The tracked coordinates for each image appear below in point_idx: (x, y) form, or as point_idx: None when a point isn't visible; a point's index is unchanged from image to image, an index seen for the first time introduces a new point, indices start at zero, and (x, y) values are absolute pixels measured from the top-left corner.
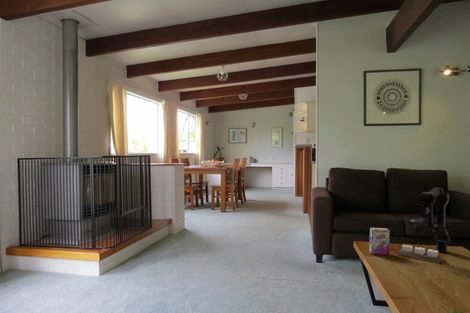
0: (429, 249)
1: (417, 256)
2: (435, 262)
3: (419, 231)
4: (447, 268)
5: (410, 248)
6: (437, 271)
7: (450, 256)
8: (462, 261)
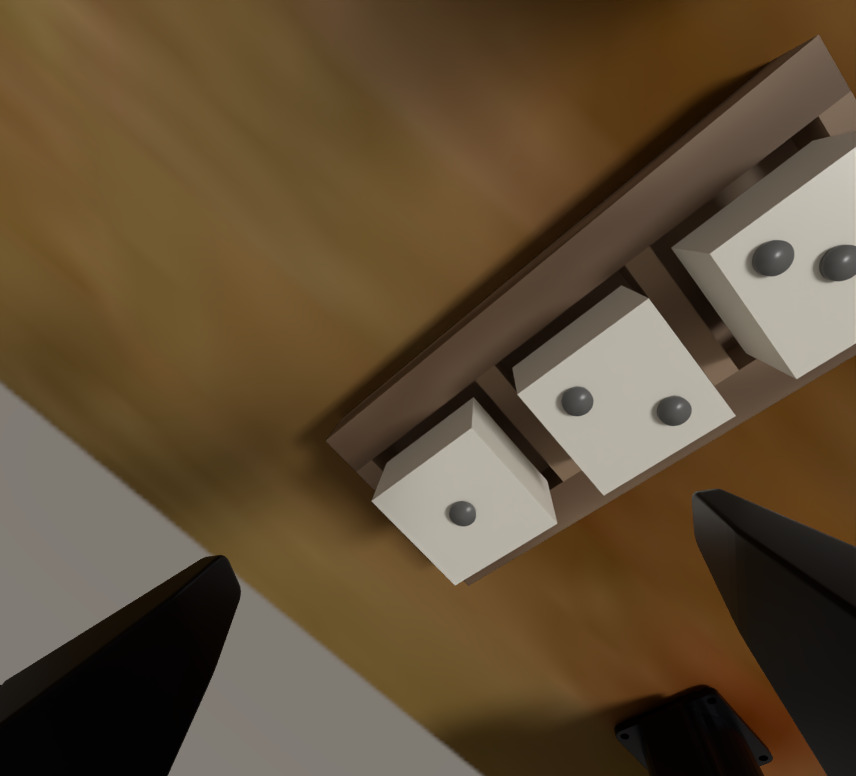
0: (532, 514)
1: (530, 268)
2: (368, 397)
3: (850, 692)
4: (192, 381)
5: (709, 247)
6: (84, 178)
7: (528, 690)
8: (383, 672)
